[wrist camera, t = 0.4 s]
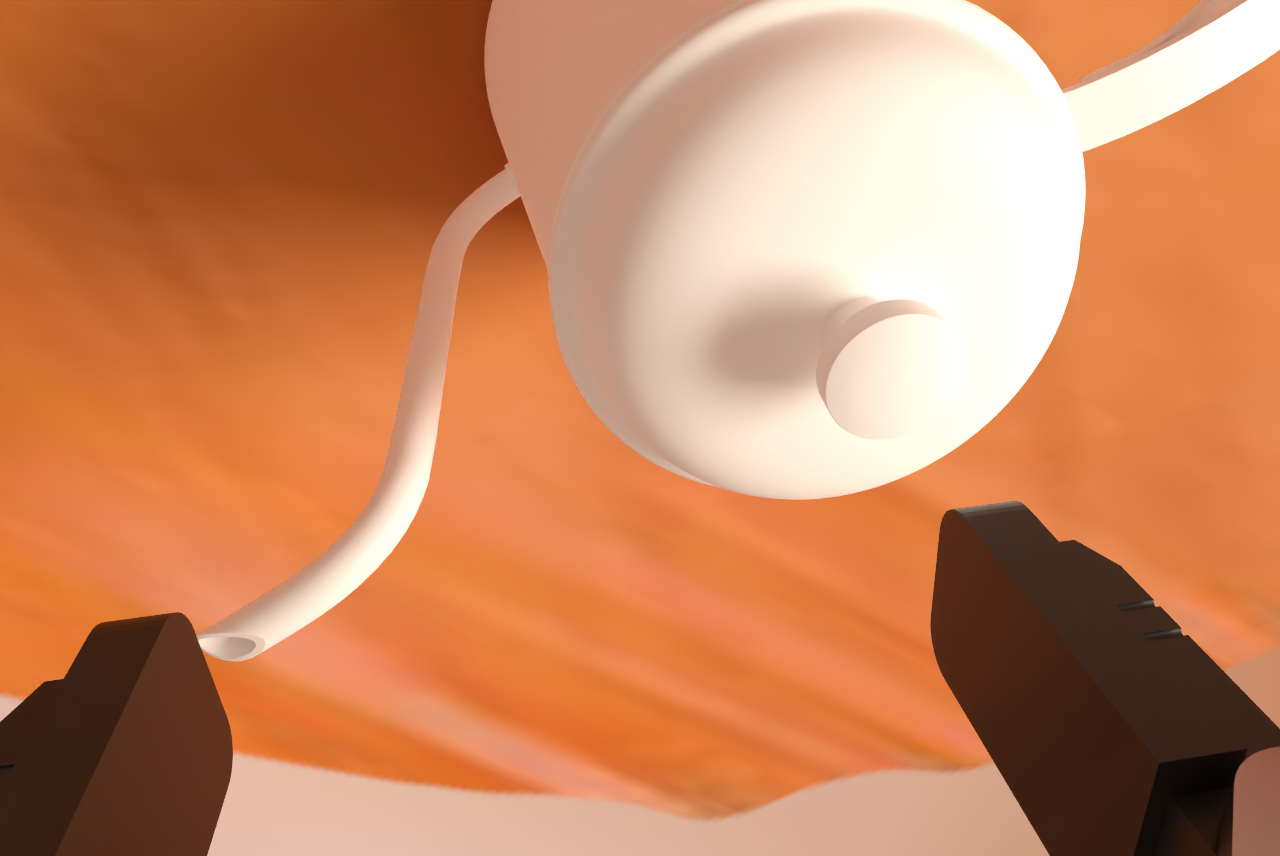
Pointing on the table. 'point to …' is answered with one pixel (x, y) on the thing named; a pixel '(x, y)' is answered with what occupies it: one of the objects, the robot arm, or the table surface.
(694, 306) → the coffeepot
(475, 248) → the table surface
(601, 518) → the table surface
